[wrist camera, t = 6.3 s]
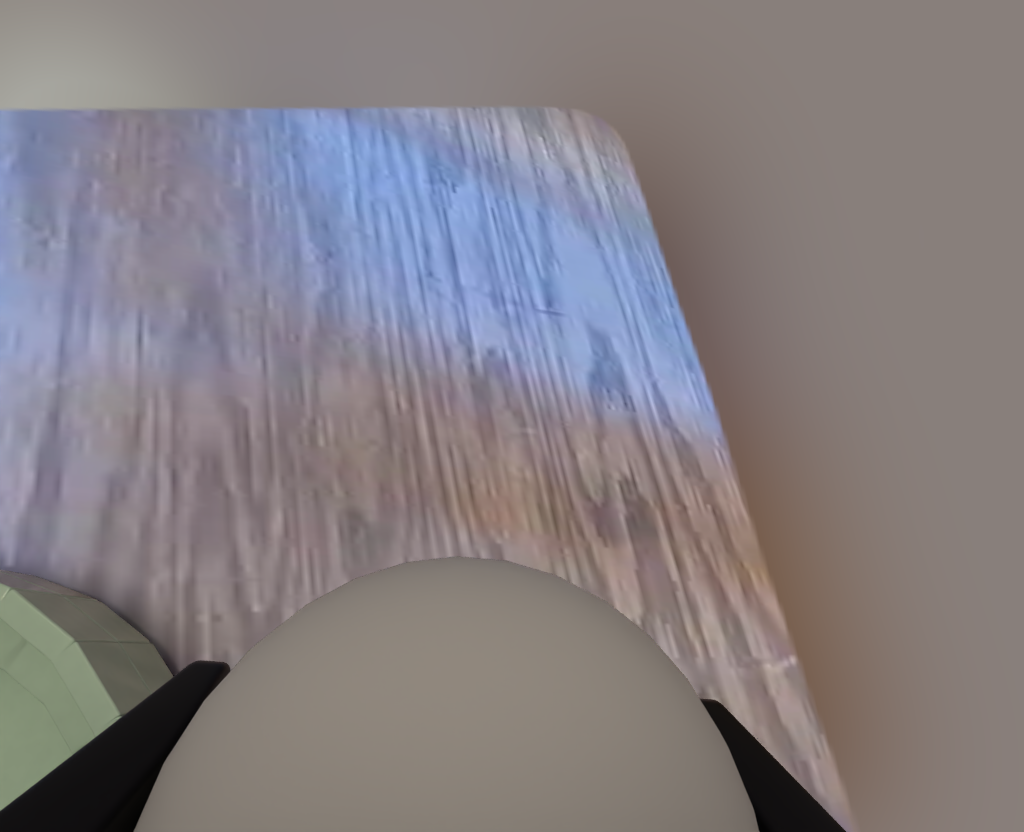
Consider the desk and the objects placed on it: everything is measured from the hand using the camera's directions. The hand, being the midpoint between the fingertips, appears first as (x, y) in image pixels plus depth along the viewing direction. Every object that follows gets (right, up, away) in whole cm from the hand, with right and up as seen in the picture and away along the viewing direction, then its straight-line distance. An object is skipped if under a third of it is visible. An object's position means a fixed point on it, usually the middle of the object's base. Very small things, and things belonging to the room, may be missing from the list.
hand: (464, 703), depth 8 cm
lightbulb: (-1, -4, +6) cm, 7 cm away
